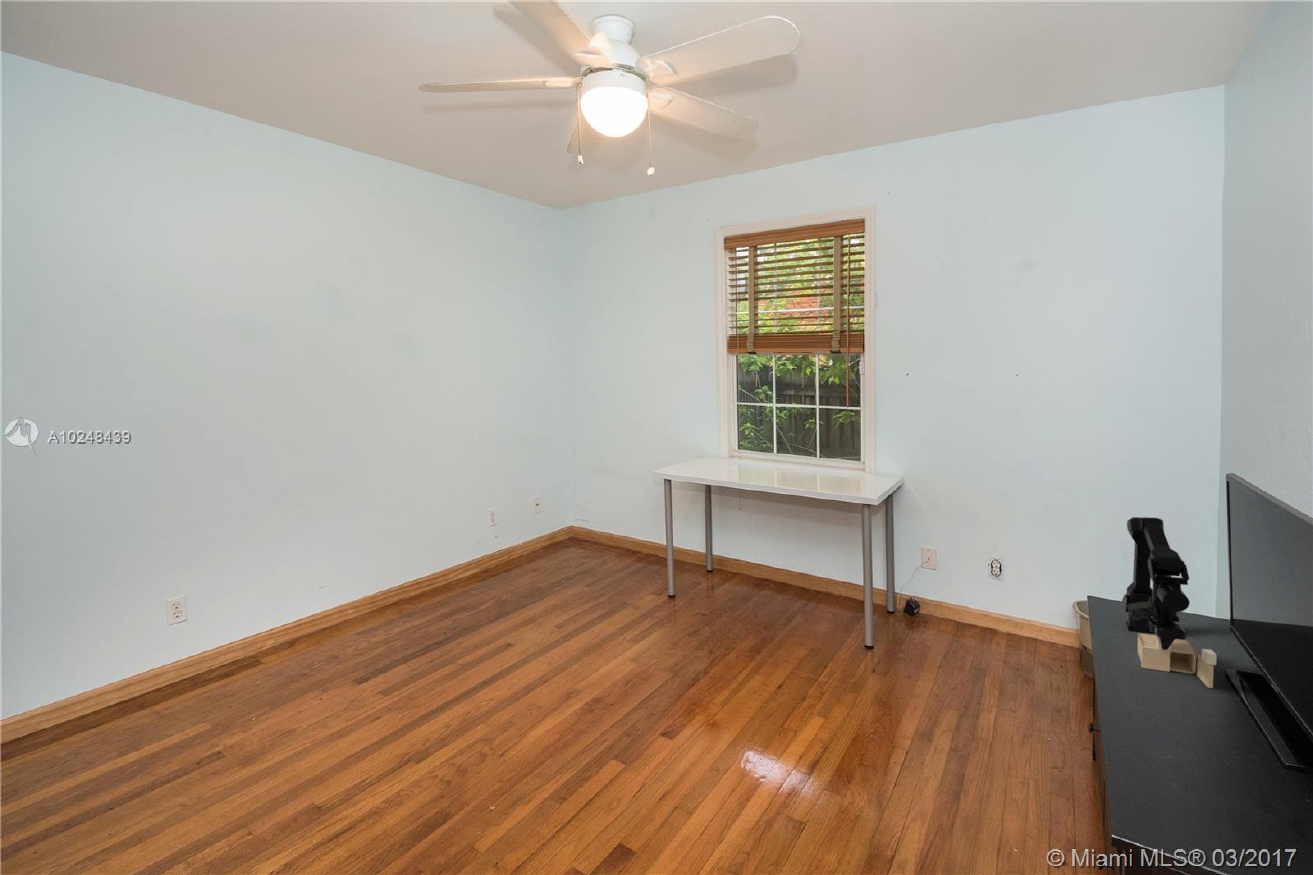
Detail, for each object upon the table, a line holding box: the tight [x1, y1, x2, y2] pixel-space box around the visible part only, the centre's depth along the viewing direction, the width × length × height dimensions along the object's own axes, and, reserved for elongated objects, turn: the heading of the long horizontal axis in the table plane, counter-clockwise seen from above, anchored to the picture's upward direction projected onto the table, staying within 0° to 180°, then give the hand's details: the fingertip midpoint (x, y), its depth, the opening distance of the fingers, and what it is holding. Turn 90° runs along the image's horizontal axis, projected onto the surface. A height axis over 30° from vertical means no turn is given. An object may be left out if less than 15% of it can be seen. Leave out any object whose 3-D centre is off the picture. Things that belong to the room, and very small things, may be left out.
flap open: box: [1196, 648, 1217, 689], centre depth 169 cm, size 2×6×10 cm, turn 159°
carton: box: [1137, 632, 1197, 675], centre depth 180 cm, size 9×12×7 cm
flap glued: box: [1140, 636, 1171, 673], centre depth 177 cm, size 2×6×10 cm, turn 59°
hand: (1163, 647), depth 176 cm, fingers closed on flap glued, 2 cm apart
